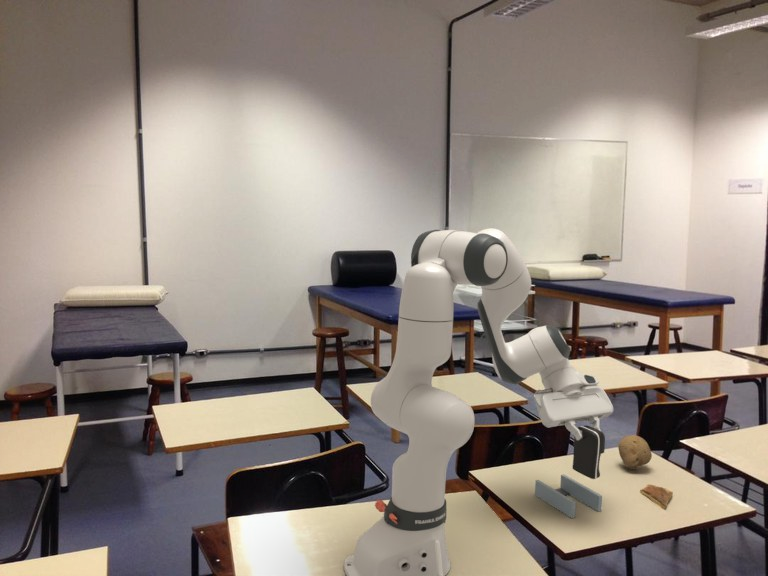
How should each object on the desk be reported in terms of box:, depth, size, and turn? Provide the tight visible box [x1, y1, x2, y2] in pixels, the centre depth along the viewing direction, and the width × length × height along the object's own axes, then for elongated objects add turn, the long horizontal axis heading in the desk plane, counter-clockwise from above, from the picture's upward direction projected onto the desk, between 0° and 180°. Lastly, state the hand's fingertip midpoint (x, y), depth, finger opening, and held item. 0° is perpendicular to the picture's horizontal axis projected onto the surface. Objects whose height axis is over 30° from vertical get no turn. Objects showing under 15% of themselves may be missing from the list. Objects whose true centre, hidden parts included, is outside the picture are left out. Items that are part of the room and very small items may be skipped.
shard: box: [639, 484, 673, 510], centre depth 168 cm, size 11×8×2 cm
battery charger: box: [572, 424, 606, 480], centre depth 152 cm, size 7×4×11 cm, turn 31°
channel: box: [534, 474, 603, 519], centre depth 164 cm, size 10×14×4 cm
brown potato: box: [617, 434, 653, 470], centre depth 186 cm, size 9×9×10 cm
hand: (589, 437), depth 152 cm, fingers closed on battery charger, 4 cm apart
